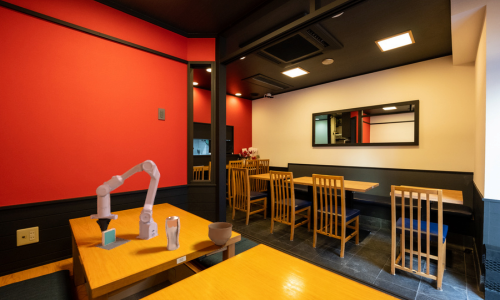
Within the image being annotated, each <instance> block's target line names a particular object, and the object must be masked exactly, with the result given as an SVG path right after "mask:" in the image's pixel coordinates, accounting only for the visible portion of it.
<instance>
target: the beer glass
mask: <svg viewBox="0 0 500 300" xmlns="http://www.w3.org/2000/svg"><path fill="white" fill-rule="evenodd" d="M164 226H165V234H166V235H165V236H166V239H167V240H166V241H167V244H166V250H168V251H174V250H175V251H176V250H178V249H179V248H180V241H179V238H180V233H181V232H180V230H181V221H180V216H179V215H172V216H168V217H165V225H164Z"/></svg>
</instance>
